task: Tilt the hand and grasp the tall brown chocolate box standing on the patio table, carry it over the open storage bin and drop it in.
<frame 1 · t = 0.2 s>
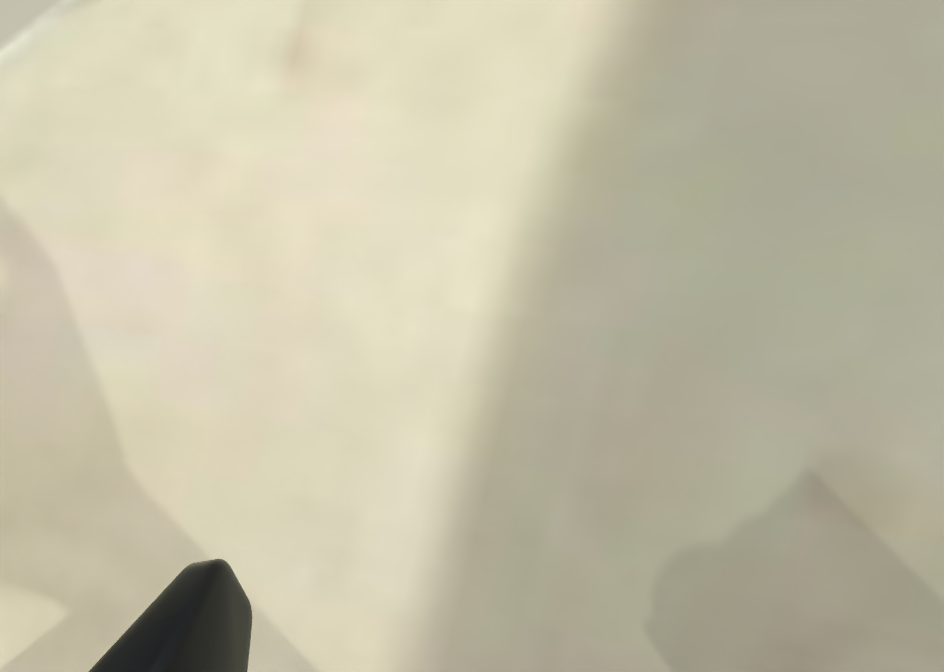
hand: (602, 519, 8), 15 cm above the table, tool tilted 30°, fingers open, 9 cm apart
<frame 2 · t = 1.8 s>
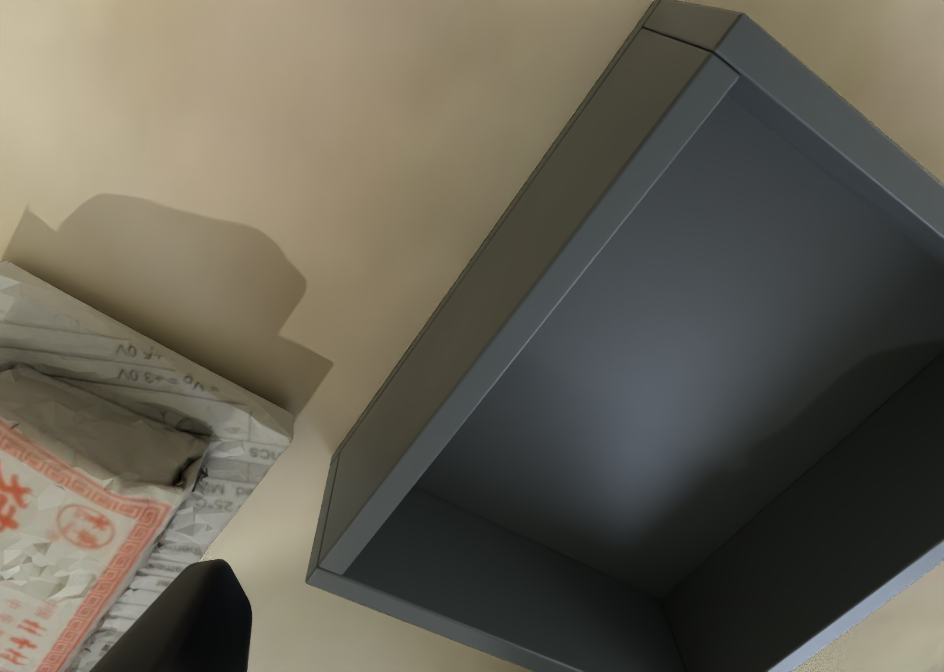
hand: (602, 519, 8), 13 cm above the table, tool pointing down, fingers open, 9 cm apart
open storage bin: (658, 379, 23), on the table
packaged product: (64, 504, 25), on the table
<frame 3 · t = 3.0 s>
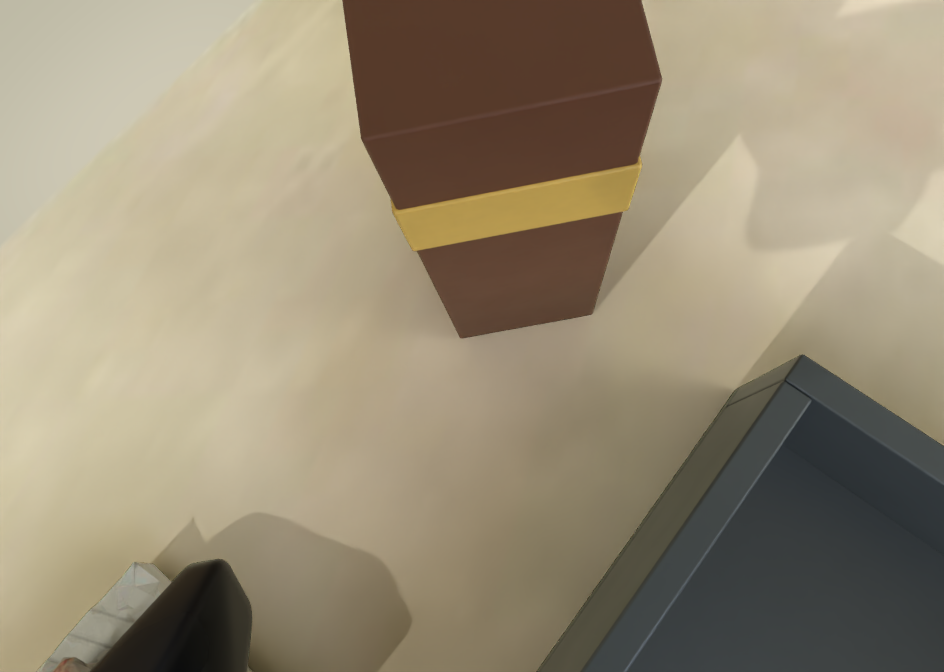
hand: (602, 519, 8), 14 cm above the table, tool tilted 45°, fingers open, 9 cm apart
chocolate box: (514, 264, 23), on the table
when the fingers open (9 cm above the table, at t = 12.3 s): chocolate box drops 2 cm, resting on open storage bin.
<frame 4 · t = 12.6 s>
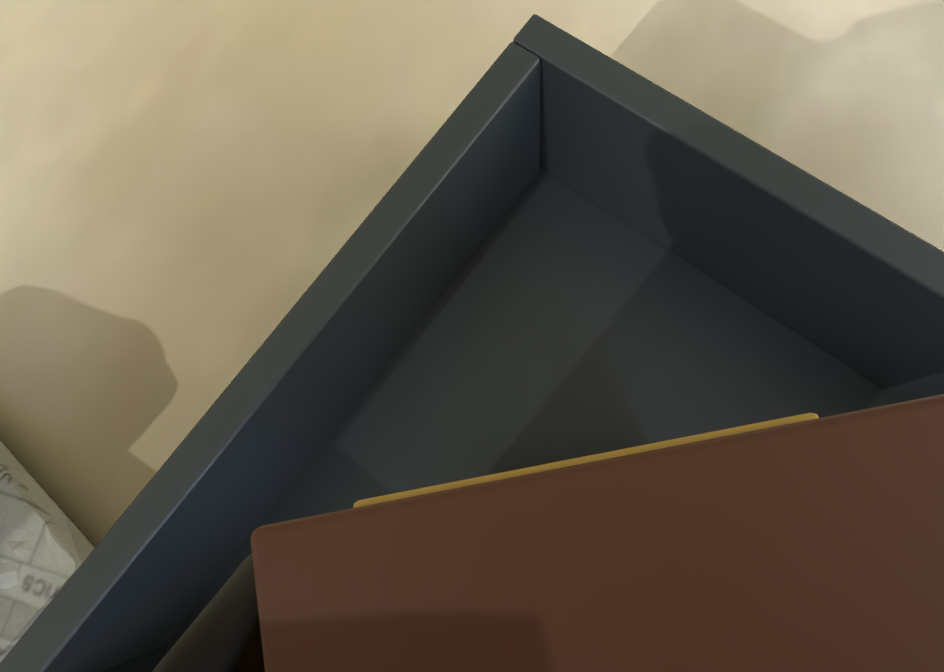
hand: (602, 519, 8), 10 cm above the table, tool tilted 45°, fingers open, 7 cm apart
open storage bin: (578, 563, 17), on the table
chocolate box: (583, 561, 16), point 1 cm above the table, touching open storage bin
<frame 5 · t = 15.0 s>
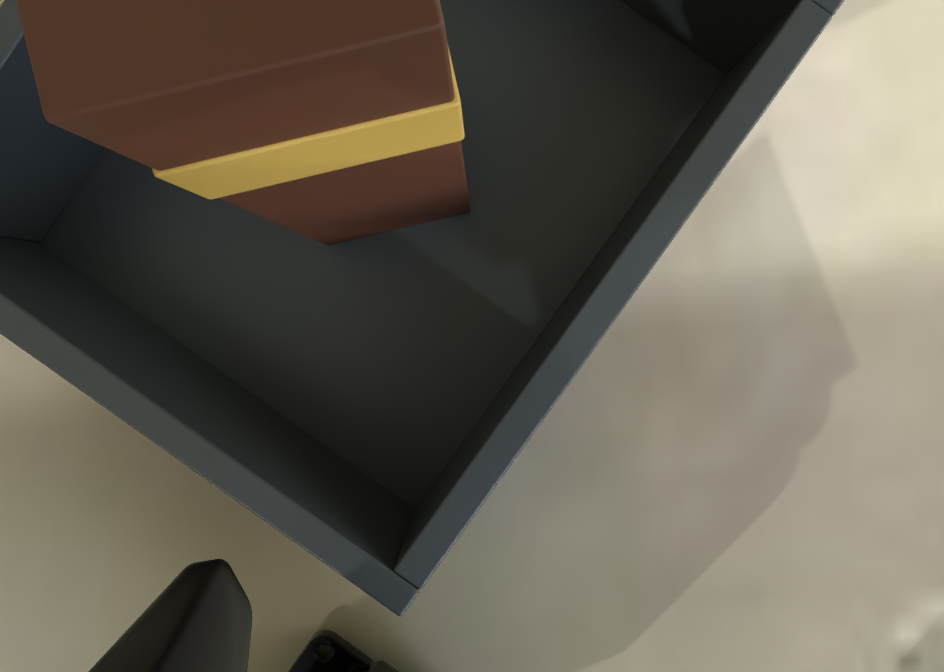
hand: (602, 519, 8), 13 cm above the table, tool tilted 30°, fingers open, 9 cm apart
open storage bin: (380, 164, 21), on the table
chocolate box: (381, 156, 20), resting on open storage bin
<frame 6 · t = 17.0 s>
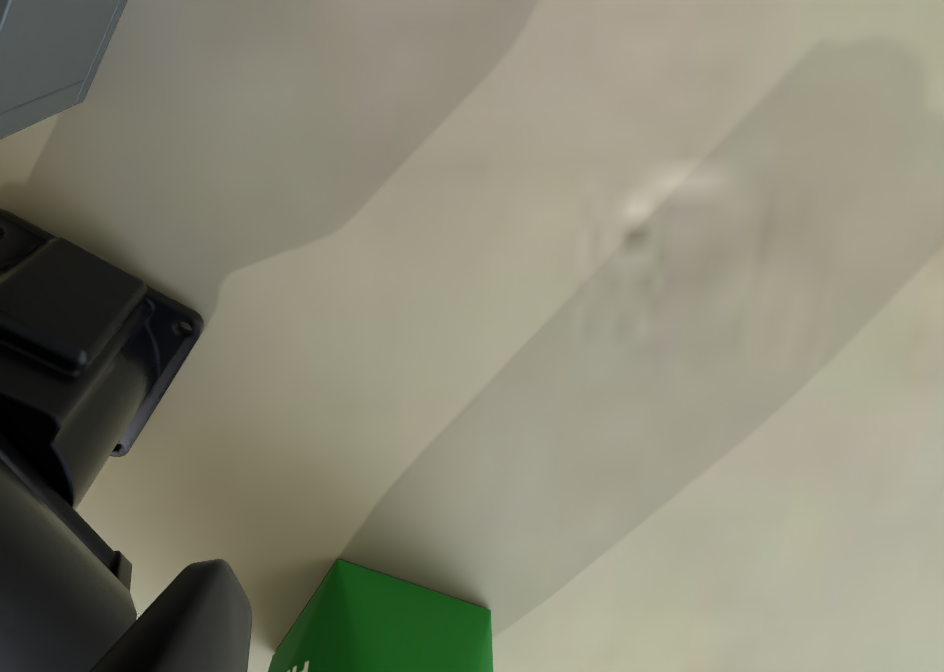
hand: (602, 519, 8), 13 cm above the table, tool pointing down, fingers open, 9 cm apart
milk carton: (381, 628, 29), on the table
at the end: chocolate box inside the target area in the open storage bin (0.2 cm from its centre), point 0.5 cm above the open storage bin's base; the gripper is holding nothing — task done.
